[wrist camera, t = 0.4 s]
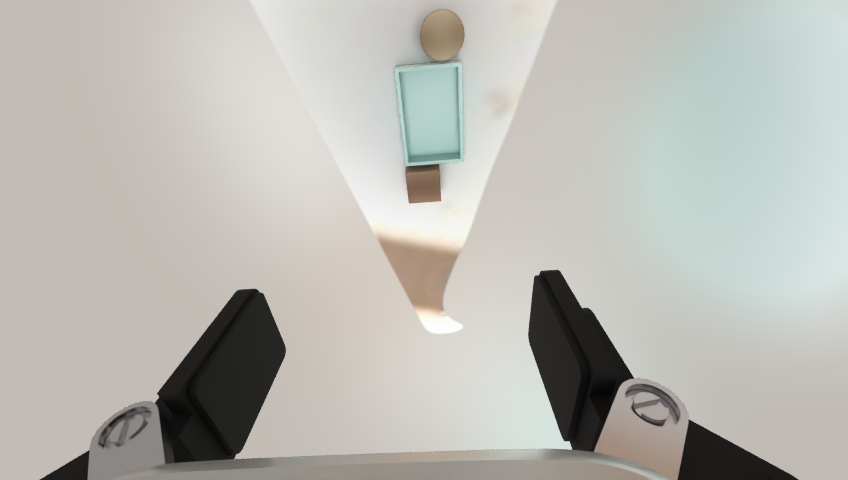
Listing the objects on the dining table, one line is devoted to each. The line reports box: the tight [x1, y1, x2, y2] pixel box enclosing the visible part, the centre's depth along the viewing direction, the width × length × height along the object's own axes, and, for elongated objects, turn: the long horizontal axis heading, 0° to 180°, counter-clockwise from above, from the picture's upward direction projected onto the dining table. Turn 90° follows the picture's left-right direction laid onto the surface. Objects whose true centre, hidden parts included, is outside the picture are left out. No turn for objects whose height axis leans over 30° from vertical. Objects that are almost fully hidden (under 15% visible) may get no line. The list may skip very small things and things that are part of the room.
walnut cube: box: [406, 164, 441, 203], centre depth 42 cm, size 4×4×4 cm
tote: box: [394, 60, 464, 166], centre depth 38 cm, size 10×7×3 cm, turn 5°
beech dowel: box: [420, 9, 464, 61], centre depth 33 cm, size 4×4×6 cm
